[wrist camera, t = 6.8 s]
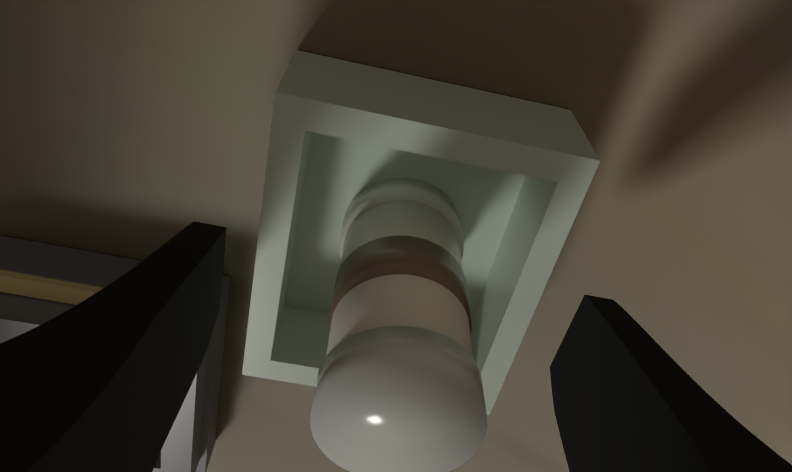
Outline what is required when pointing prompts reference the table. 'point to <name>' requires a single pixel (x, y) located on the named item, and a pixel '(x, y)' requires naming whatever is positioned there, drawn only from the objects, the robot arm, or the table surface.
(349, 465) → the cylinder
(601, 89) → the table surface
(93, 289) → the grey square holder
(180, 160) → the table surface
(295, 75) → the parts tray
